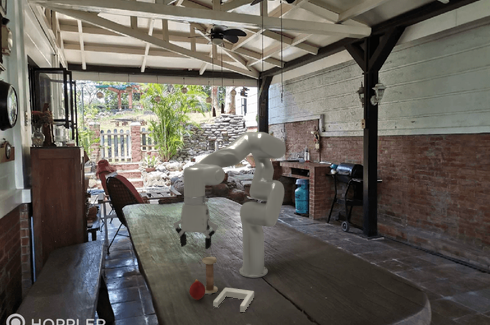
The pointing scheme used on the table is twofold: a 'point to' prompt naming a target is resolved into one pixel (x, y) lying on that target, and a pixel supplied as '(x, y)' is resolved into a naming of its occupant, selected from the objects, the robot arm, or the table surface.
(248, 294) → the notched board
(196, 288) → the pomegranate
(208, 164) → the robot arm
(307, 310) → the table surface
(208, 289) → the spool
